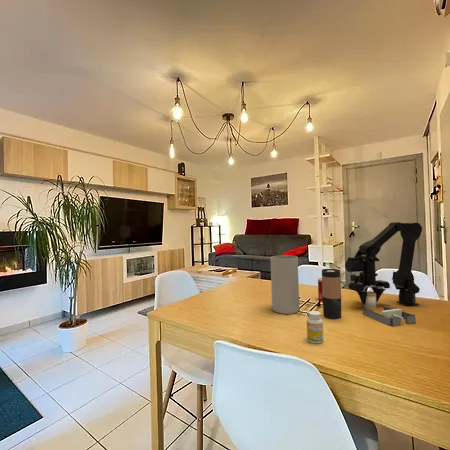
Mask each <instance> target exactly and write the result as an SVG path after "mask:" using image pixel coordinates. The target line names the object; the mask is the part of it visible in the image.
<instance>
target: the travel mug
mask: <svg viewBox="0 0 450 450" xmlns="http://www.w3.org/2000/svg"><path fill="white" fill-rule="evenodd" d="M321 278H322V299H323V302H322V311H323V312H322V313H323V317H324V318H327V319H330V320H339V319H342V283H341V279H342V278H341V269H336V268H322V269H321Z"/></svg>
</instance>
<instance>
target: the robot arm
mask: <svg viewBox="0 0 450 450" xmlns="http://www.w3.org/2000/svg"><path fill="white" fill-rule="evenodd" d="M422 231H423V227H422V225H421V224H420V223H419V222H399V221H396V222H393V221H392V222H389V224H388V225H387V226H386V227H385V228H384V229H383V230H381V231H380V232H379V233H378V234H377V235H376V236H375V237H373V239H370V240H367V241H365V242H364V243H362V244H360V246H358V250H357V251H356V253H355V255H354V256H353V257H351V256H348V257H347V260H345V264H344V267H345V270H346V271H347V272H348V273H354V274H350V277H349V278H350V281H351V282H350V283H349V284H348V290H350V291H353V292H357V294H358V296H359V299H360V301H361V303H362V306H363V305H365V302H366V296H367V291H368V290H366V289H367V288H368V289H369V288H371V291H372V292H375V293H376V304H377V303H378V302H379V301H380V298H381V296H382V295H383V293H384V292H385V291H386V289H390V288H391V287H390V286H391V284H390V283H389V281H386V280H383V279H379V280H378V279H377V276H378V275H379V274H378V273H376V272H377V271H376V262H380V261H381V259H379V258H378V257H377V255H378V254H379V253H380V251H381V249H382V246H383V245H384V244H385V243H386V242H388V241H389V240H390V239H391V238H392V237H394V235H396V234H397V233H398V232H400V237H401V239H402V246H401V252H400V257H399V258H400V260H399V265H398V269H397V270H396V271H393V272H392V277H391V280H392V284H393V285H394V287H395V290H397V291H398V290H399V291H398V301H396V303H398V304H400V305H404V306H407V307H410V306H413V307H414V306H418V305H419V304H420V303H418V302H416V300H417V299H416V294H419V293H420V290H421V289H420V287H419V286H418V285H417V284H416V283H415V277H414V274H413V272H412V268H413V262H414V253H415V249H416V248H415V246H416V242H417V240H419V238H420V237H421V234H422ZM357 272H359V275H356V274H355V273H357Z"/></svg>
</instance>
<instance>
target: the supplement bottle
mask: <svg viewBox="0 0 450 450" xmlns="http://www.w3.org/2000/svg"><path fill="white" fill-rule="evenodd" d="M321 315H322V314H321V312H320V311H318V310H309V311H308V317H307V318H306V337H307V341H308V342H310V343H312V344H322V343H323V342H324V322H323V319H322V317H321Z"/></svg>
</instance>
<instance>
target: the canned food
mask: <svg viewBox="0 0 450 450" xmlns="http://www.w3.org/2000/svg"><path fill="white" fill-rule="evenodd" d="M317 290H318V292H317V293H318V300H319V301H320V302H322V303H323V299H322V277H319V278H317Z"/></svg>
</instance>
